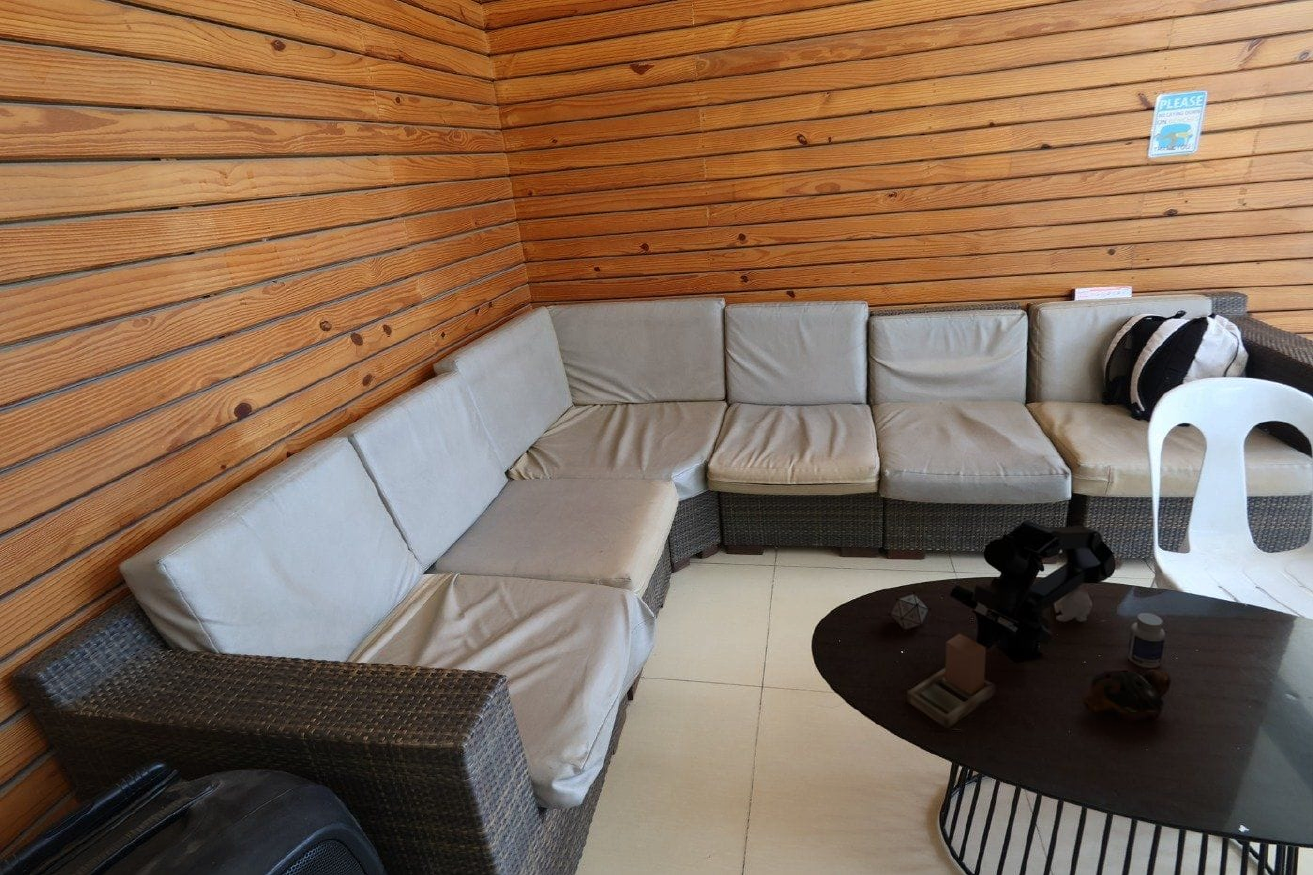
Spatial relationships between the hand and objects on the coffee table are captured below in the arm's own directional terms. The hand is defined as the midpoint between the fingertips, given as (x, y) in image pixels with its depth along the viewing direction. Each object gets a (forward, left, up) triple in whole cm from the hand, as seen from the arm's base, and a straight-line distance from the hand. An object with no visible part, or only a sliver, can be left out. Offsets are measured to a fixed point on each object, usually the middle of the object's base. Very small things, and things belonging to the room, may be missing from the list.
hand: (978, 652), depth 132 cm
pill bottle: (-33, +6, -7) cm, 34 cm away
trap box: (+8, +3, -6) cm, 10 cm away
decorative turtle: (-19, +16, -7) cm, 25 cm away
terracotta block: (+4, +2, -5) cm, 6 cm away
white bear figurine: (-31, -13, -7) cm, 34 cm away
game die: (+3, -19, -7) cm, 21 cm away
